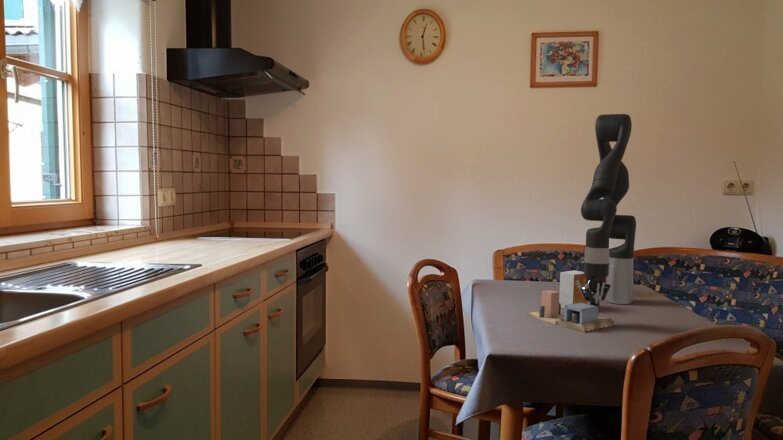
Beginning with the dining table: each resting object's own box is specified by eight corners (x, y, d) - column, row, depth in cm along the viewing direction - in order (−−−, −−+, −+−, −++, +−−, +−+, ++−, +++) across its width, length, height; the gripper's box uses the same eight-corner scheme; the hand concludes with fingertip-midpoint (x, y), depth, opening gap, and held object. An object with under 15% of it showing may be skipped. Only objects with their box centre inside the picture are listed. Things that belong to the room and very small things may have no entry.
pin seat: (545, 312, 194) (545, 299, 194) (574, 320, 184) (574, 306, 184) (526, 316, 189) (526, 303, 188) (554, 324, 179) (555, 310, 178)
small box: (572, 310, 197) (574, 274, 196) (558, 307, 203) (559, 271, 202) (587, 308, 202) (588, 272, 201) (573, 304, 207) (574, 270, 206)
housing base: (587, 318, 186) (588, 305, 186) (613, 325, 178) (614, 311, 178) (557, 324, 178) (558, 310, 178) (584, 332, 170) (584, 317, 169)
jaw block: (549, 313, 189) (550, 290, 188) (558, 315, 186) (559, 292, 185) (541, 314, 187) (541, 291, 186) (550, 317, 183) (551, 293, 183)
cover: (580, 317, 181) (580, 302, 181) (597, 321, 176) (598, 306, 176) (564, 320, 177) (564, 305, 177) (581, 325, 172) (582, 309, 171)
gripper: (593, 264, 172) (591, 319, 173) (619, 261, 179) (617, 314, 180) (573, 261, 178) (571, 314, 179) (599, 258, 185) (597, 309, 187)
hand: (594, 314), depth 180 cm, fingers closed
